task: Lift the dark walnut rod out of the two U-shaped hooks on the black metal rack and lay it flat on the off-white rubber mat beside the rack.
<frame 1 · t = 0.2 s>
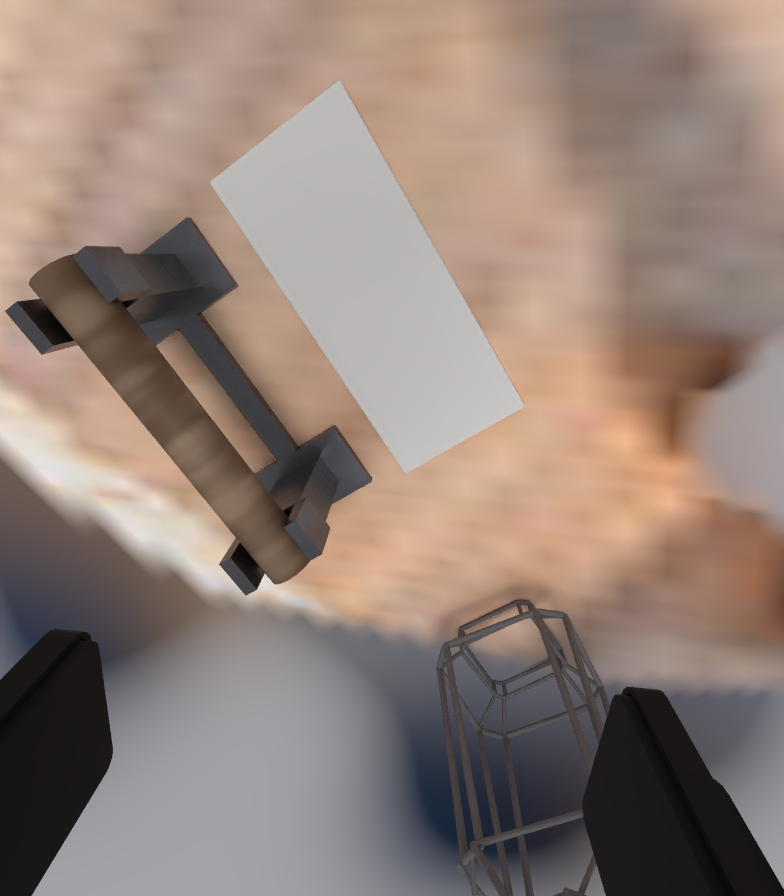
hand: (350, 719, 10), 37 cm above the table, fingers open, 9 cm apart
rod: (197, 423, 36), point 10 cm above the table, touching rack
mat: (377, 300, 42), on the table
rack: (242, 388, 46), on the table
geometric lantern: (509, 642, 54), on the table
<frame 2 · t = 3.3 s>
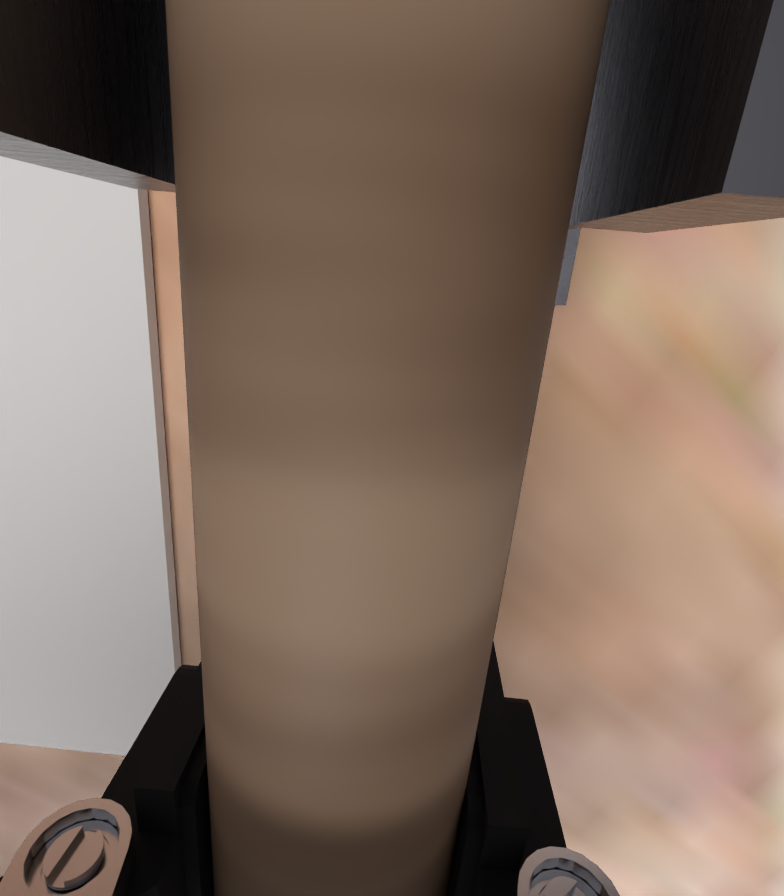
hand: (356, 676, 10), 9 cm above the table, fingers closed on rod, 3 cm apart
rod: (351, 714, 10), point 10 cm above the table, touching gripper, rack
mat: (6, 453, 19), on the table
rack: (384, 489, 19), on the table
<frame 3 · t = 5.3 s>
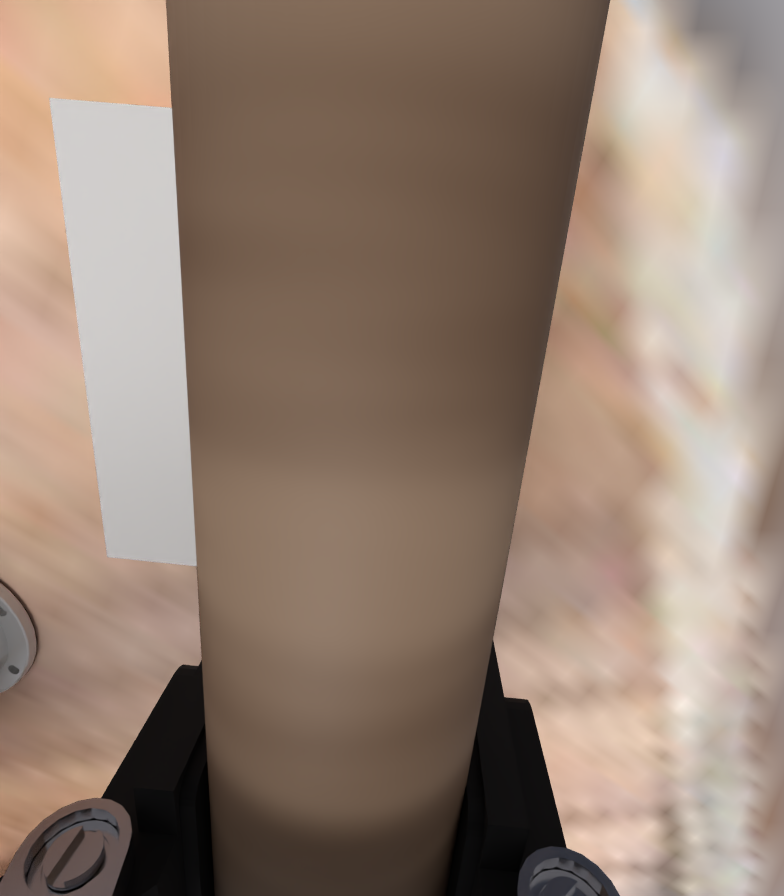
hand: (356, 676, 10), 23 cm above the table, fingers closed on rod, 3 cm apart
rod: (351, 713, 10), point 24 cm above the table, touching gripper
mat: (182, 369, 33), on the table
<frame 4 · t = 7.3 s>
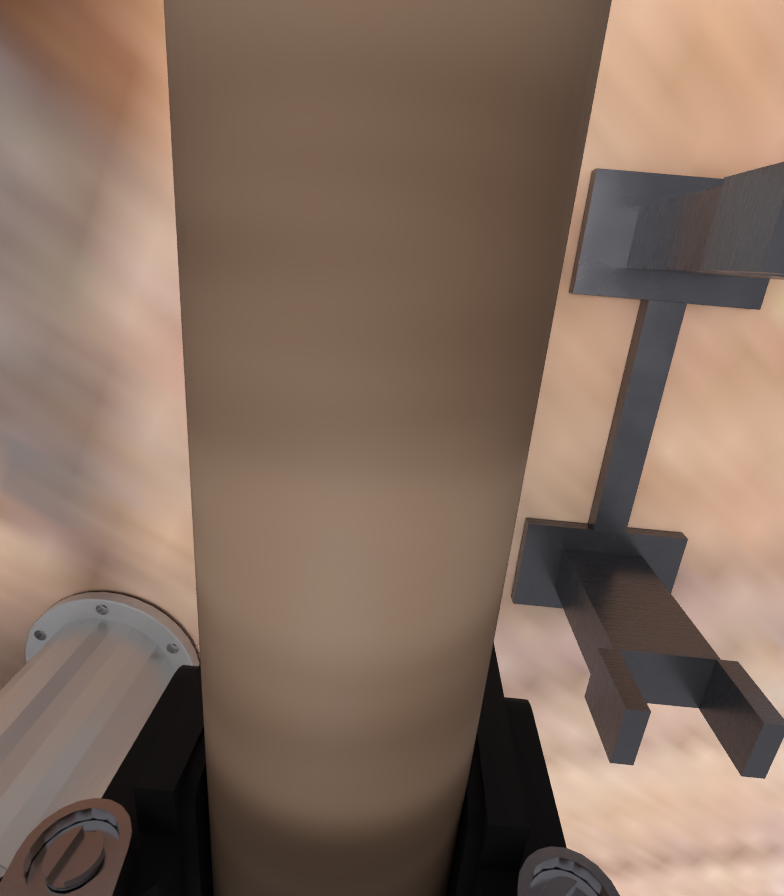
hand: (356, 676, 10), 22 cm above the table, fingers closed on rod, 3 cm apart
rod: (351, 714, 10), point 23 cm above the table, touching gripper
rack: (629, 421, 31), on the table
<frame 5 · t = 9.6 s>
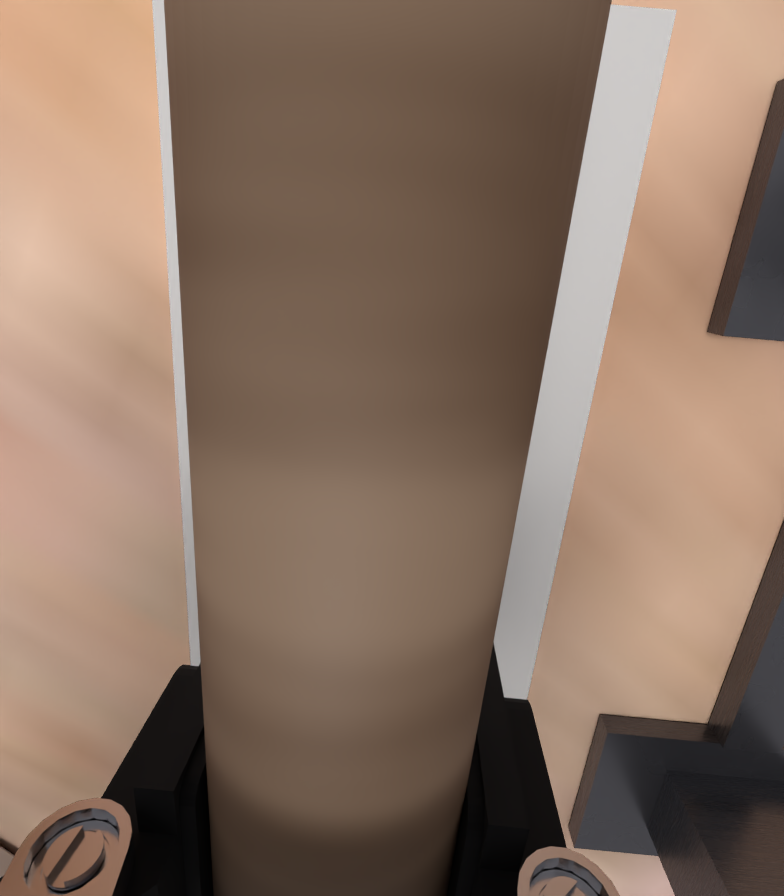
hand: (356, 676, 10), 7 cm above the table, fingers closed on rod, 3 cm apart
rod: (351, 713, 10), point 8 cm above the table, touching gripper
mat: (371, 524, 17), on the table
when the fingers open (2 cm above the table, at t = 11.5 s): rod drops 2 cm, resting on mat.
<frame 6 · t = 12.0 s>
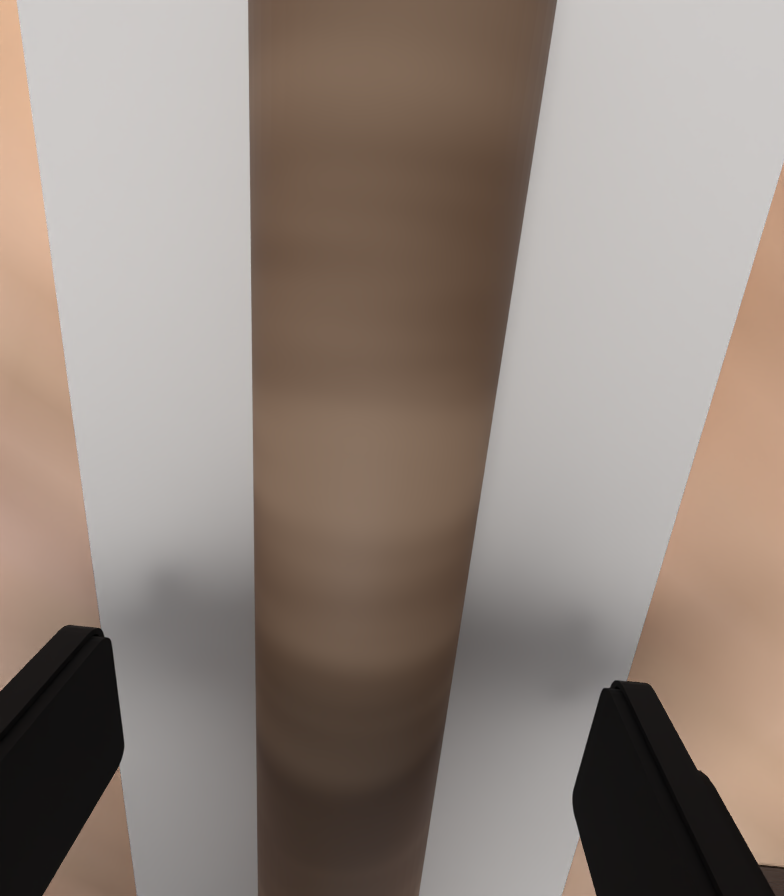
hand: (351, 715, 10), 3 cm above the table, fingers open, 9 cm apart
rod: (360, 633, 12), point 1 cm above the table, touching mat
mat: (365, 617, 12), on the table
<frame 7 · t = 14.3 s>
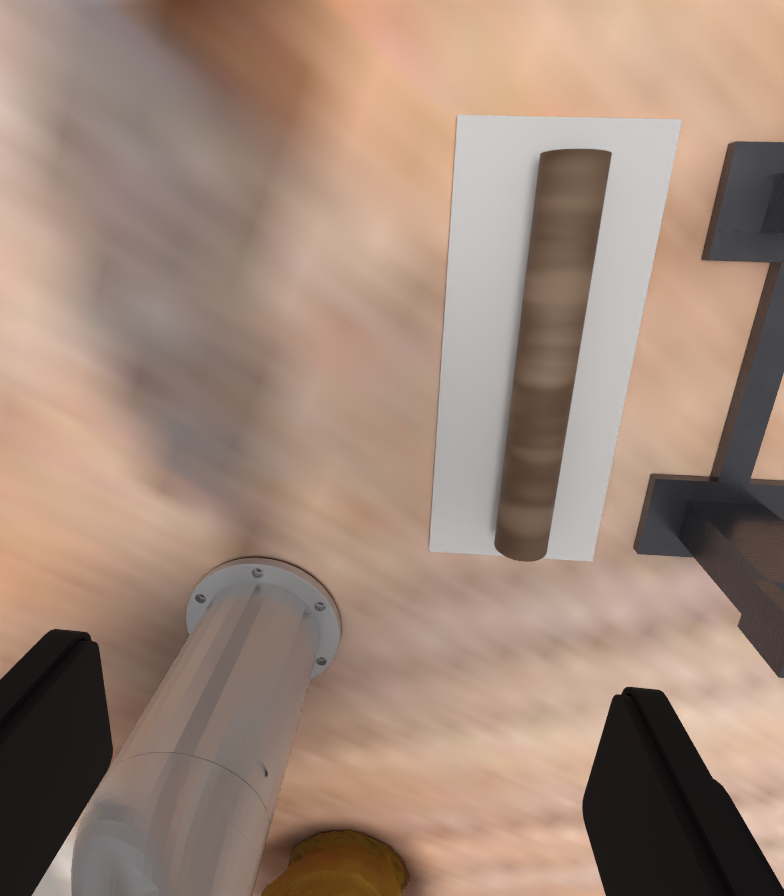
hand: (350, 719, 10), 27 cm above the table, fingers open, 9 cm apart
rod: (534, 370, 34), point 1 cm above the table, tilted 9°, touching mat
mat: (533, 368, 34), on the table
rack: (754, 378, 33), on the table
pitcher: (341, 861, 55), on the table
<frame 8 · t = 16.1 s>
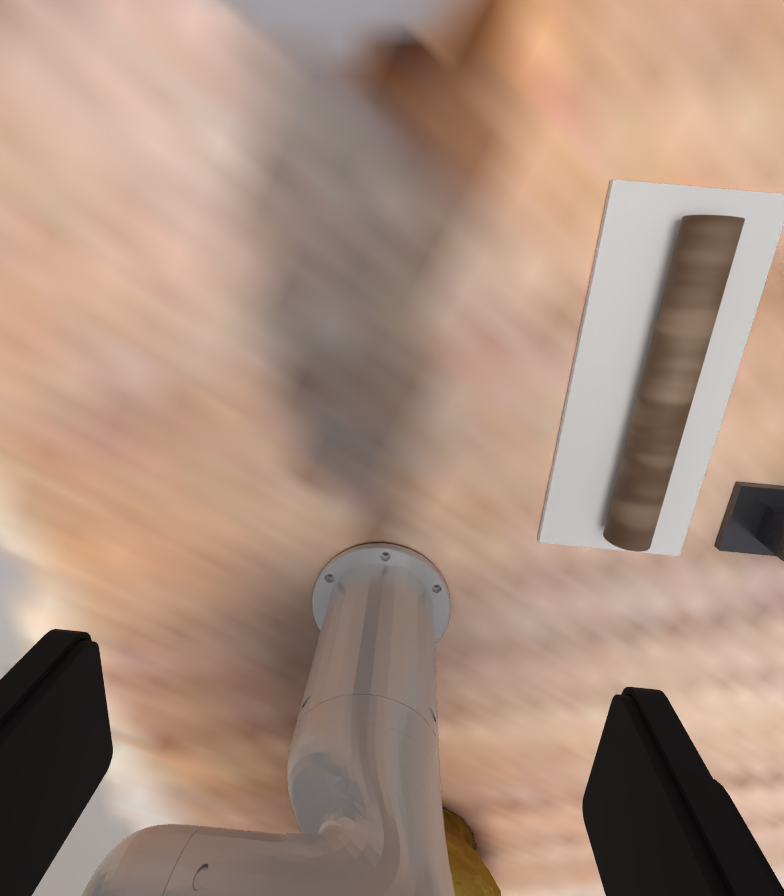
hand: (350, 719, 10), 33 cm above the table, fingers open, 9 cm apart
rod: (649, 390, 40), point 1 cm above the table, tilted 13°, touching mat
mat: (646, 388, 40), on the table
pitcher: (413, 833, 59), on the table
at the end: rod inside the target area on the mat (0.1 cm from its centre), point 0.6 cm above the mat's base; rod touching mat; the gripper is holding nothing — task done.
